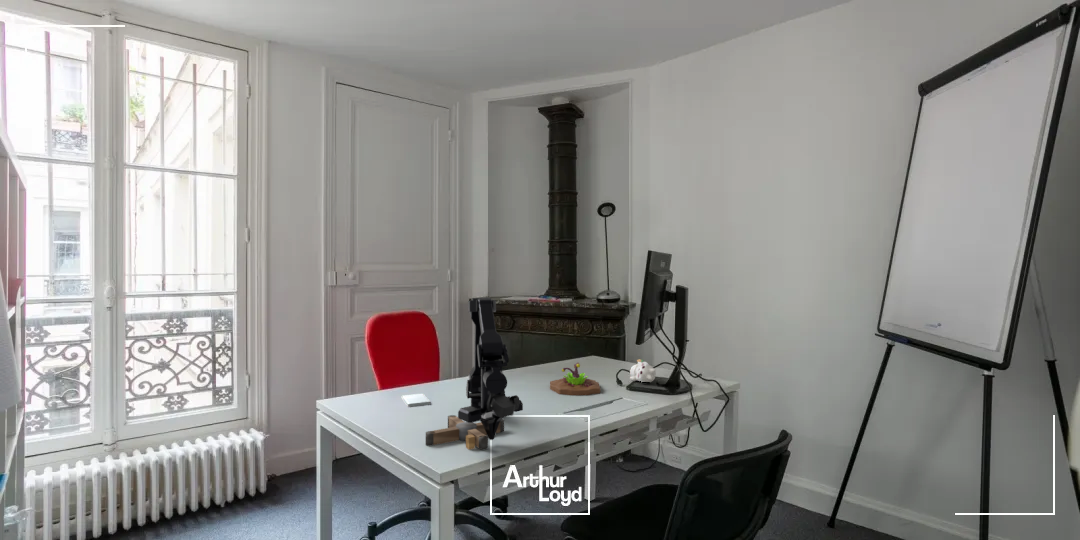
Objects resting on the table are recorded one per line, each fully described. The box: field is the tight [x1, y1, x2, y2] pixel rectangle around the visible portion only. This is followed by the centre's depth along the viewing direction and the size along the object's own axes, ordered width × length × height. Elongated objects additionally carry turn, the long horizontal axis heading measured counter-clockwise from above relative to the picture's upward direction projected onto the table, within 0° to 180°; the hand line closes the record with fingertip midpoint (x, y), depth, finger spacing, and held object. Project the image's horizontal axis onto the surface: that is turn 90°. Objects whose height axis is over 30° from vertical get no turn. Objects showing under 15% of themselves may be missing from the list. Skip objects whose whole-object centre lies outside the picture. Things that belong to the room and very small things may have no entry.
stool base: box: [425, 414, 505, 451], centre depth 163 cm, size 22×25×4 cm
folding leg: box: [468, 429, 489, 451], centre depth 156 cm, size 9×3×3 cm, turn 33°
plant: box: [549, 361, 601, 396], centre depth 219 cm, size 20×20×11 cm
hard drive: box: [400, 393, 432, 408], centre depth 201 cm, size 2×8×12 cm
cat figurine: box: [629, 358, 657, 383], centre depth 231 cm, size 10×8×15 cm
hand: (491, 439), depth 156 cm, fingers closed
